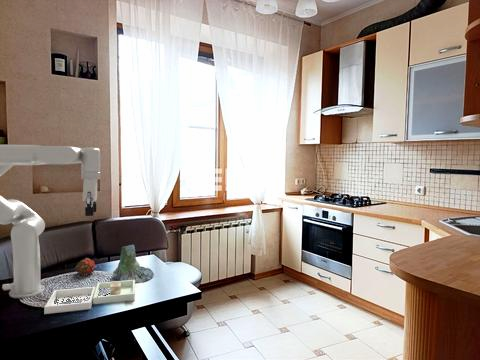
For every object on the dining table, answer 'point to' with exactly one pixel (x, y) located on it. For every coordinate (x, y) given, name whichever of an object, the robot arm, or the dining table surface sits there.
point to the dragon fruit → (85, 266)
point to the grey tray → (55, 308)
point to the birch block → (115, 289)
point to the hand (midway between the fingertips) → (91, 213)
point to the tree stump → (131, 267)
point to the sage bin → (125, 295)
